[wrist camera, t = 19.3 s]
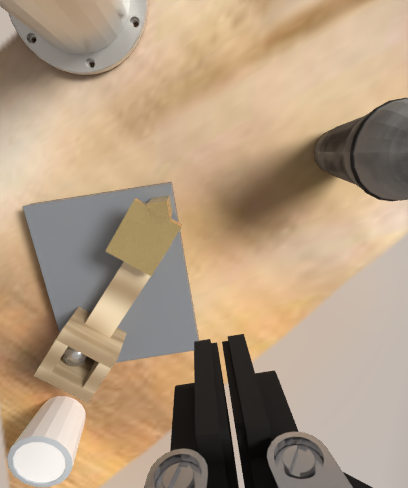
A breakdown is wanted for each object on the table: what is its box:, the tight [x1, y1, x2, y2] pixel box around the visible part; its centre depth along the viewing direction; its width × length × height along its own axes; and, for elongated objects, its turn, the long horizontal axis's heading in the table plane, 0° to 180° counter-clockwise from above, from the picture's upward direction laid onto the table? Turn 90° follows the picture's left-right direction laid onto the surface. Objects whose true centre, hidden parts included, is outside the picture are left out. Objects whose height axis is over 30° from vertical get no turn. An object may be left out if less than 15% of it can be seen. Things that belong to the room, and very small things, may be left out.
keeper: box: [106, 195, 182, 276], centre depth 34 cm, size 7×5×6 cm
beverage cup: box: [314, 98, 408, 201], centre depth 27 cm, size 7×7×20 cm
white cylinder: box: [7, 396, 86, 487], centre depth 40 cm, size 7×7×7 cm
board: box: [23, 182, 199, 362], centre depth 38 cm, size 19×15×2 cm
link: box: [34, 243, 172, 403], centre depth 35 cm, size 18×6×5 cm, turn 146°
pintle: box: [63, 346, 87, 367], centre depth 38 cm, size 2×2×6 cm
